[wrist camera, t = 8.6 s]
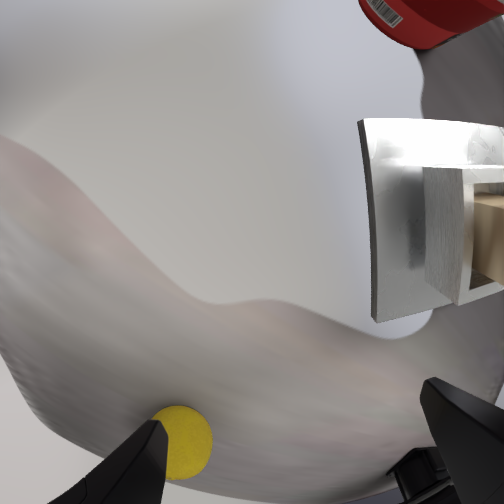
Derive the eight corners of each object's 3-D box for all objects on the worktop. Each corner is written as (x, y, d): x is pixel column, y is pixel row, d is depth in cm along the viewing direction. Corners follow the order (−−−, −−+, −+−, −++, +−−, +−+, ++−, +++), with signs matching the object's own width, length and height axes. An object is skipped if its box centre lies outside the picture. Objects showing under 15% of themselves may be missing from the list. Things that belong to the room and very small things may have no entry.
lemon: (222, 426, 24) (215, 495, 16) (168, 427, 24) (150, 490, 16) (208, 386, 22) (194, 461, 15) (148, 388, 22) (120, 455, 15)
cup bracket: (494, 281, 20) (539, 308, 14) (370, 315, 20) (407, 365, 14) (494, 128, 16) (547, 125, 10) (357, 121, 17) (403, 102, 10)
